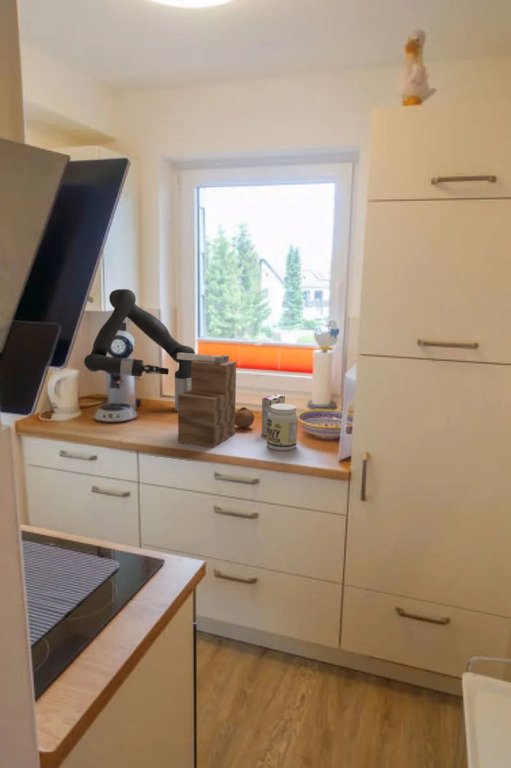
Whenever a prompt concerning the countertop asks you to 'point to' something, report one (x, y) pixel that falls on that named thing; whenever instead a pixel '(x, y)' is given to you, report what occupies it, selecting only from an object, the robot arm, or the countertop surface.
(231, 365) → the brown wooden stepped block
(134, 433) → the countertop surface
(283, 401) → the candy bar box
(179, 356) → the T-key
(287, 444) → the supplement tub
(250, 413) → the onion
